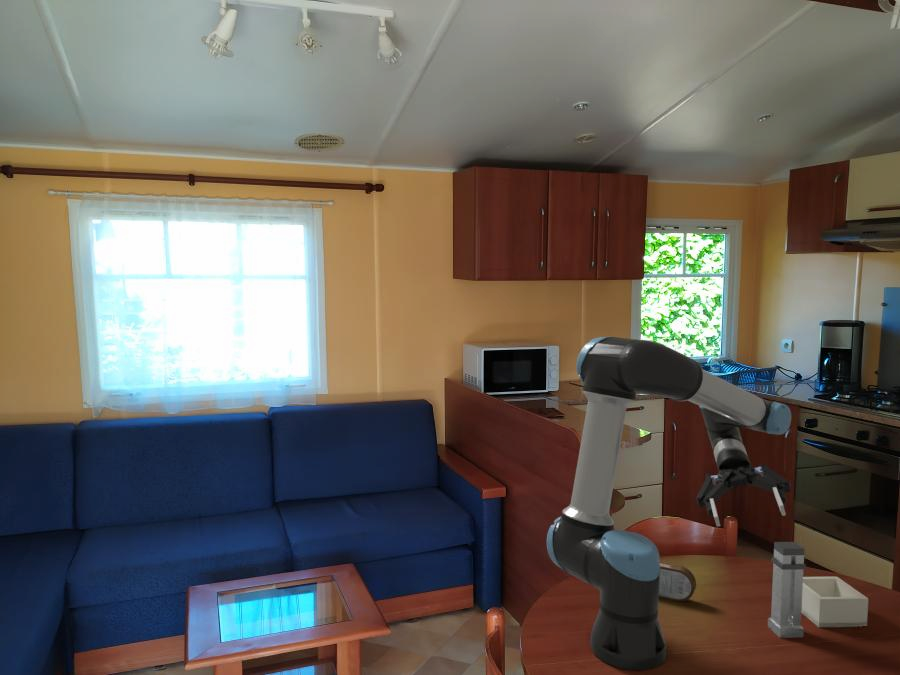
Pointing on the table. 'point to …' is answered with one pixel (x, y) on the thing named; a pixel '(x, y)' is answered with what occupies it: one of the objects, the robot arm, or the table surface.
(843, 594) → the open box
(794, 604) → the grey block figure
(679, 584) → the tin
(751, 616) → the table surface
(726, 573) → the table surface
